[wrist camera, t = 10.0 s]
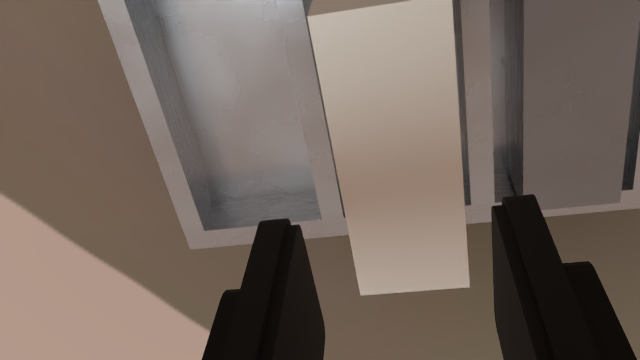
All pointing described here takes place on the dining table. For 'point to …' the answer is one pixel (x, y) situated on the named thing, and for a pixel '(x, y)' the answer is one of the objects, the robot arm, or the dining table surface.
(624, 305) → the dining table surface
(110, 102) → the dining table surface
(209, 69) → the rack
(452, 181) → the block
